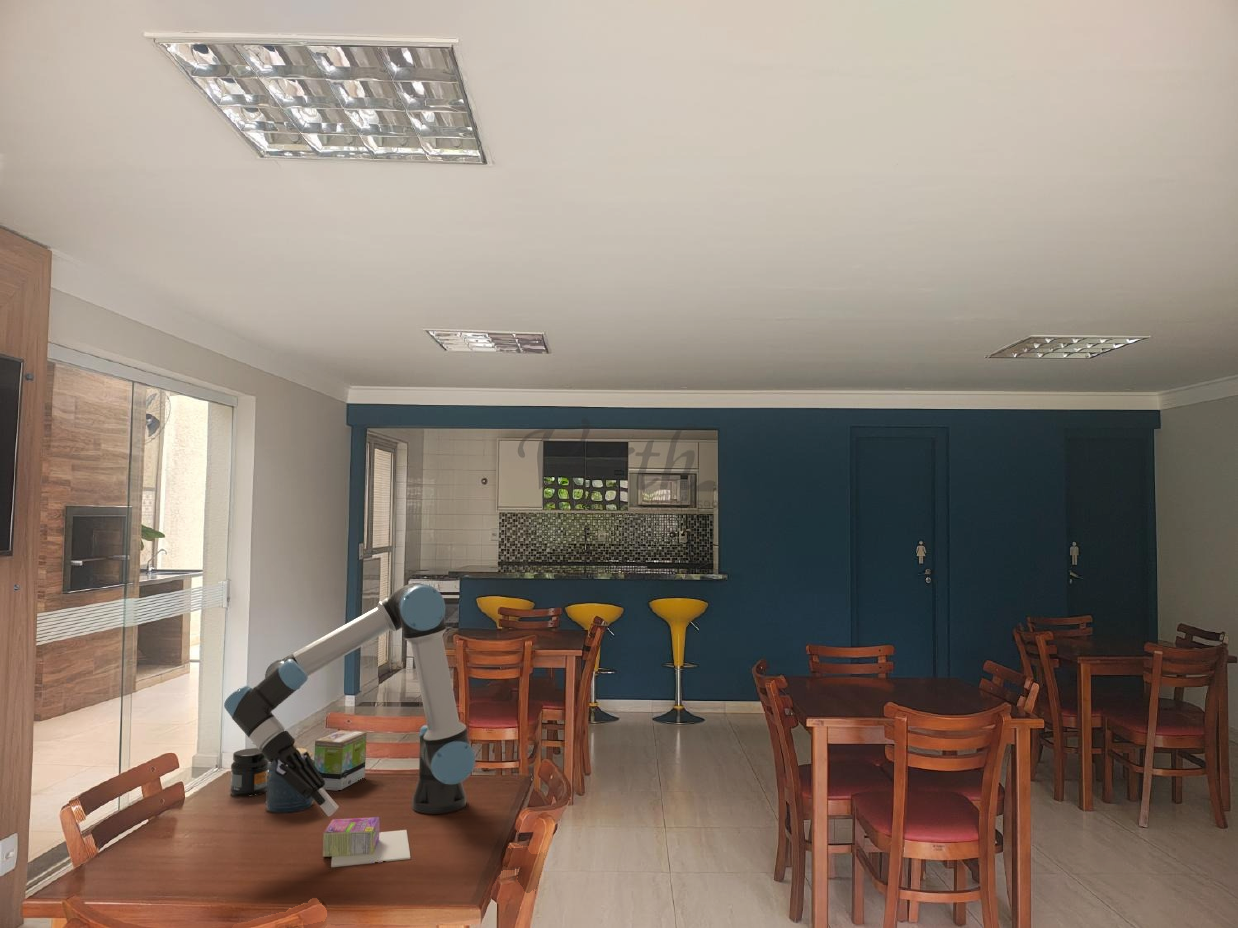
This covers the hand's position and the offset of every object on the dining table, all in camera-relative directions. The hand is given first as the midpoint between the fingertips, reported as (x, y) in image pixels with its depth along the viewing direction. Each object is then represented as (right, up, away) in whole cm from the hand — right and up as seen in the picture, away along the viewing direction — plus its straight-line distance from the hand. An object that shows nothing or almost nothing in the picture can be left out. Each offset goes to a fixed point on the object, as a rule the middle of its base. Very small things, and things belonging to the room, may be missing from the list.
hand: (333, 811), depth 208 cm
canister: (-24, -13, +35) cm, 44 cm away
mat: (+9, -10, +2) cm, 13 cm away
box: (-2, -6, 0) cm, 7 cm away
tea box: (-18, -15, +57) cm, 62 cm away
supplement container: (-42, -14, +48) cm, 65 cm away
